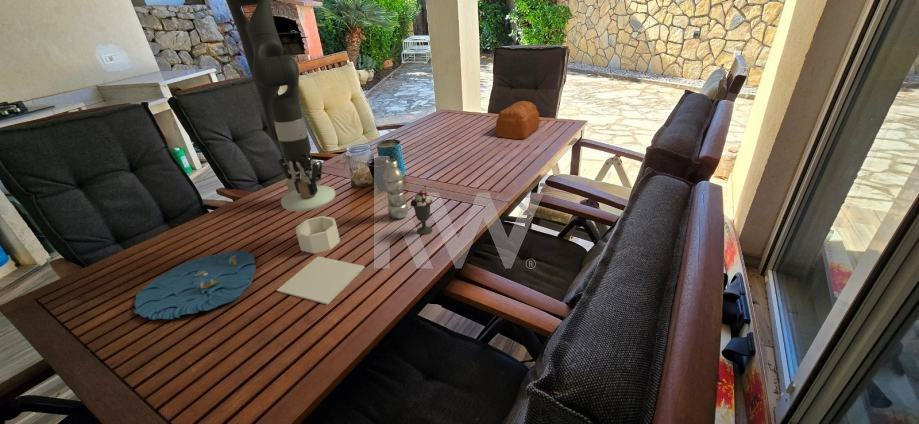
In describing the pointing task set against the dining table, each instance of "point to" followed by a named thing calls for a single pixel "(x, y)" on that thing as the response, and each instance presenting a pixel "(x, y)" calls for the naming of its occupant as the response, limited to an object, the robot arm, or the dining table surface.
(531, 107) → the bread
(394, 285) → the dining table surface
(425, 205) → the sundae
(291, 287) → the mat
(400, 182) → the plastic bottle
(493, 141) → the dining table surface
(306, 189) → the lid
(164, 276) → the decorative plate
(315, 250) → the bowl
